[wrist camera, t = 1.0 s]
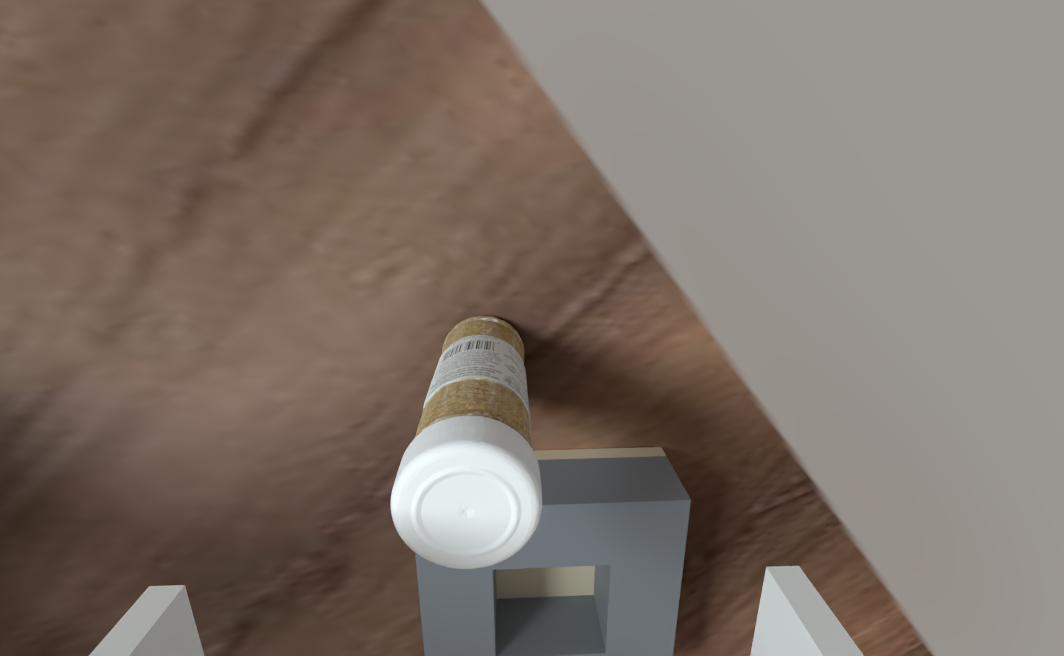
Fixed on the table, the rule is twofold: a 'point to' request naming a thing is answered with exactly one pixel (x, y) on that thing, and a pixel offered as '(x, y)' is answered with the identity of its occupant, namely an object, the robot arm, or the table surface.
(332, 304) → the table surface
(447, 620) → the socket block
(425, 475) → the sprinkles bottle
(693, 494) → the table surface
